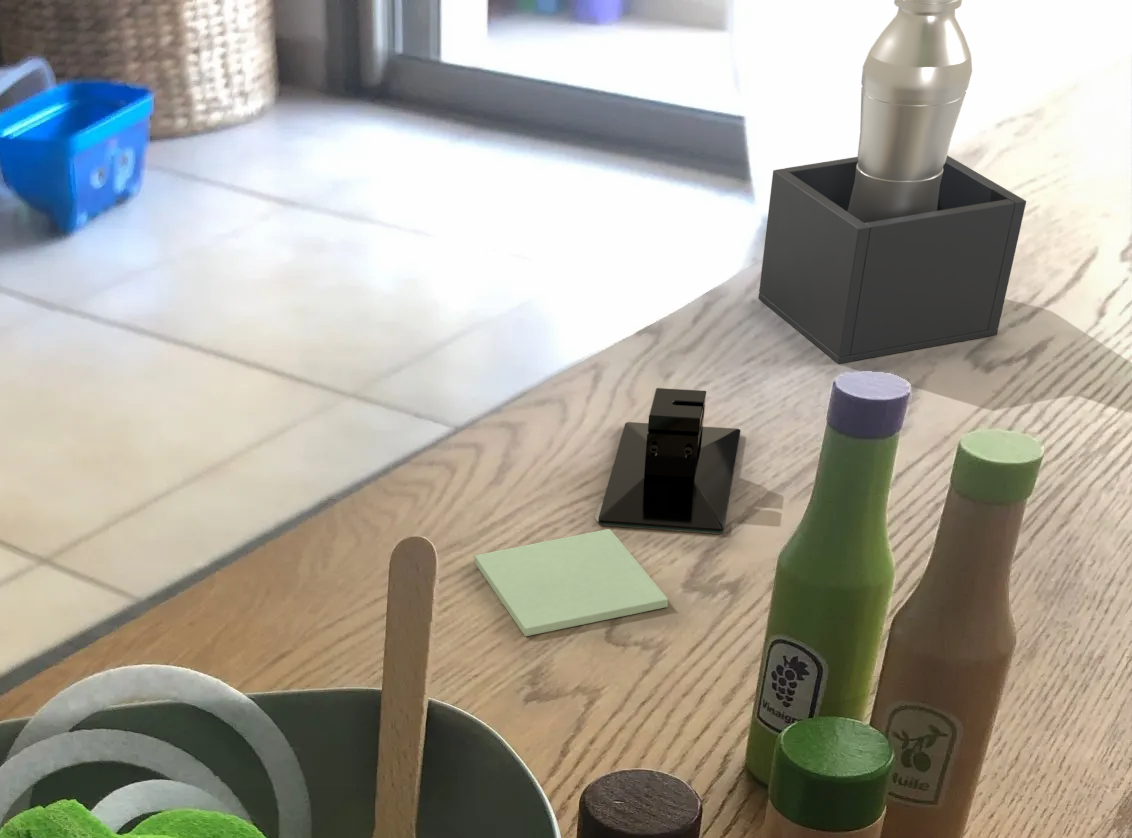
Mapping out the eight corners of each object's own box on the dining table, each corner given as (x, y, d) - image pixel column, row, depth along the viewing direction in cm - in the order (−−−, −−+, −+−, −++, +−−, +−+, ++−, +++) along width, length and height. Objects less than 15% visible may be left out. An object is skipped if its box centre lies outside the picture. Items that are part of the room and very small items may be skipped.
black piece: (722, 536, 91) (731, 458, 87) (592, 527, 92) (596, 449, 89) (740, 433, 99) (748, 358, 96) (620, 426, 101) (624, 352, 97)
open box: (907, 272, 116) (930, 144, 110) (997, 334, 108) (1026, 200, 102) (757, 298, 113) (772, 169, 108) (838, 363, 105) (858, 228, 100)
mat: (609, 536, 91) (610, 528, 91) (668, 607, 86) (668, 598, 85) (474, 563, 90) (474, 555, 89) (525, 636, 84) (525, 628, 84)
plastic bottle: (865, 282, 114) (919, -51, 99) (946, 310, 110) (1014, -33, 96) (804, 309, 111) (851, -30, 97) (885, 338, 107) (946, -10, 93)
